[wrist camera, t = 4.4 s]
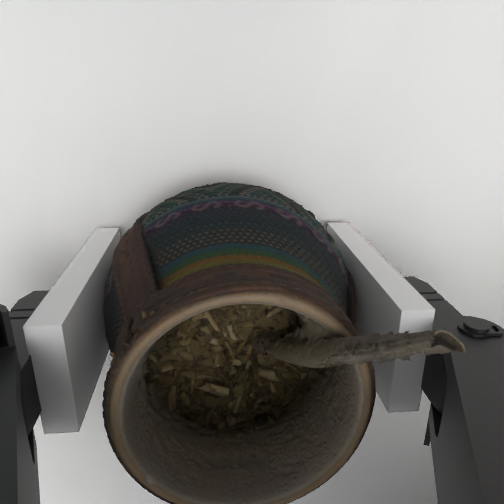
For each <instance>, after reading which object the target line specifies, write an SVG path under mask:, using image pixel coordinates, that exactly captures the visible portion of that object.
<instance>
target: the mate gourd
mask: <svg viewBox="0 0 504 504" xmlns="http://www.w3.org/2000/svg"><path fill="white" fill-rule="evenodd" d="M355 312H356V296H355V286H354V282H353V278H352V277H351V274H350V272H349V271H348V269H347V267H346V265H345V262H344V260H343V256H342V255H341V253H340V251H339V250H338V248H337V246H336V244H335V240H333V237H332V236H331V235H330V234H328V232H327V231H326V230H325V229H324V227H323V226H322V225H321V223H319V222H318V221H317V220H316V219H315V215H314V214H313V213H312V212H310V211H307V210H305V209H304V208H303V207H302V205H299V204H297V203H296V202H294V200H291V199H289V198H287V197H286V196H284V195H282V194H280V193H279V192H275V191H271V189H266V188H263V187H260V186H253V185H246V184H238V183H226V182H224V183H216V184H215V183H214V184H212V185H208V184H207V185H206V186H202V187H195V188H192V189H190V190H187V191H184V192H181V193H179V194H178V195H176V196H174V197H171V198H169V199H166V200H165V201H164V202H162V203H160V204H158V205H157V206H155V207H154V208H153V209H152V210H151V211H150V212H147V213H145V214H144V215H142V216H140V218H138V219H137V220H136V222H135V223H134V225H133V227H132V228H130V229H129V230H128V231H127V232H126V233H125V234H124V236H123V237H122V238H121V240H120V241H119V243H118V245H117V246H116V248H115V250H114V254H113V261H112V264H111V268H110V270H109V273H108V276H107V279H106V284H105V298H104V327H105V333H106V334H105V335H106V338H107V342H108V344H109V348H110V352H111V353H110V355H111V356H112V357H113V360H112V362H111V368H110V369H109V370H108V372H107V376H106V380H105V382H104V388H105V390H104V392H103V397H104V400H103V403H102V406H103V412H102V413H103V418H104V426H105V429H106V432H107V437H108V439H109V443H110V444H111V447H112V449H113V452H114V453H115V454H116V456H117V458H118V460H119V461H120V463H121V464H122V465H123V467H124V468H125V470H126V471H127V472H128V473H129V474H130V476H131V477H132V478H133V479H134V480H135V481H136V482H137V483H139V484H140V485H141V486H142V487H143V488H144V489H147V491H148V492H150V493H152V494H153V495H154V496H156V497H158V498H160V499H161V500H163V501H165V502H168V503H170V504H287V503H290V502H292V501H294V500H296V499H299V498H301V497H303V496H305V495H306V494H308V493H310V492H312V491H314V490H315V489H317V488H319V487H320V486H321V485H323V484H324V483H325V482H326V481H328V480H329V479H330V478H331V477H332V476H333V475H335V474H336V473H337V472H338V471H339V470H340V469H341V468H342V467H343V466H344V464H345V463H346V462H347V461H348V460H349V459H350V457H351V456H352V455H353V453H354V452H355V450H356V449H357V447H358V445H359V444H360V442H361V440H362V438H363V436H364V434H365V431H366V429H367V427H368V424H369V422H370V419H371V416H372V412H373V407H374V402H375V397H376V387H375V386H376V384H375V373H374V372H375V370H374V367H373V364H372V361H374V360H376V361H378V362H379V363H383V362H387V361H388V362H392V361H395V359H397V358H398V359H401V360H404V361H406V360H408V361H410V356H413V355H414V354H417V353H421V354H422V355H428V356H429V354H437V353H440V354H443V353H449V352H462V353H465V347H464V345H463V343H462V342H460V341H459V340H458V339H457V338H456V337H455V336H453V335H452V334H451V333H450V332H447V331H444V330H431V331H428V330H427V331H422V332H417V333H415V332H413V333H408V332H409V331H405V333H397V334H394V333H393V332H392V331H391V332H389V333H387V334H383V335H380V334H379V333H373V334H372V335H367V336H360V335H359V333H358V332H357V330H356V326H355V323H356V316H355ZM393 334H394V335H393Z"/></svg>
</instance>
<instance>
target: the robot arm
mask: <svg viewBox="0 0 504 504" xmlns="http://www.w3.org/2000/svg"><path fill="white" fill-rule="evenodd" d="M327 232H328V234H330V235H331V236H332V237H333V240H335V244H336V246H337V248H338V250H339V251H340V253H341V255H342V256H343V260H344V262H345V265H346V267H347V269H348V271H349V272H350V274H351V277H352V278H353V282H354V286H355V296H356V312H355V316H356V323H355V326H356V330H357V332H358V333H359V335H360V336H367V335H372V334H373V333H379V334H380V335H383V334H387V333H389V332H391V331H392V332H393V333H394V334H397V333H405V331H409V332H408V333H413V332H415V333H417V332H422V331H427V330H428V331H431V330H444V331H447V332H450V333H451V334H452V335H453V336H455V337H456V338H457V339H458V340H459V341H460V342H462V343H463V345H464V347H465V353H462V352H449V353H443V354H440V353H437V354H429V356H428V355H422V354H421V353H417V354H414V355H413V356H410V361H408V360H406V361H404V360H401V359H398V358H397V359H395V361H392V362H388V361H387V362H383V363H379V362H378V361H376V360H374V361H372V364H373V367H374V370H375V372H374V373H375V384H376V386H375V387H376V391H377V393H378V395H379V397H380V398H381V400H382V402H383V404H384V406H385V408H386V410H387V411H388V413H389V412H405V411H419V406H420V400H421V394H422V390H423V391H424V393H425V394H426V396H427V397H428V398H429V400H430V401H431V406H430V412H429V418H428V423H427V429H426V435H425V440H424V445H427V446H429V443H430V439H431V446H432V455H433V464H434V472H435V481H436V489H437V498H438V504H504V329H503V328H501V327H500V326H498V325H497V324H495V323H493V322H490V321H487V320H485V319H481V318H476V317H471V316H463V315H461V314H460V313H459V312H458V311H457V310H456V309H455V308H454V307H453V306H452V305H451V304H450V303H448V302H447V301H446V300H444V298H443V297H442V296H441V295H440V294H439V293H438V294H437V291H435V290H434V289H433V288H432V287H431V286H430V285H429V284H428V283H426V282H424V281H422V280H420V279H417V278H415V277H403V276H402V275H401V274H400V273H399V272H398V271H397V270H396V269H395V268H394V267H393V266H392V265H391V264H390V263H389V262H388V261H387V260H386V259H385V258H384V257H383V256H382V255H381V254H380V253H379V252H378V251H377V250H376V249H375V248H374V247H373V246H372V245H371V244H370V243H369V242H368V241H367V240H366V239H365V238H364V237H363V236H362V235H361V234H360V233H359V232H358V231H357V230H356V229H355V228H354V227H353V226H352V225H351V224H350V223H349V222H331V223H327ZM120 240H121V239H120V229H119V228H96V229H95V231H94V232H93V233H92V235H91V236H90V237H89V239H88V240H87V241H86V243H85V244H84V245H83V247H82V248H81V249H80V251H79V252H78V253H77V255H76V256H75V257H74V259H73V260H72V261H71V263H70V264H69V265H68V267H67V268H66V269H65V271H64V272H63V273H62V275H61V276H60V278H59V279H58V280H57V282H56V283H55V284H54V286H53V287H52V288H51V290H50V291H33V292H32V293H30V294H28V295H27V296H25V297H23V298H21V299H20V300H19V301H18V302H17V303H16V304H15V305H14V306H13V308H12V309H11V311H10V312H9V311H8V309H7V308H6V306H4V305H1V304H0V504H40V494H39V478H38V463H37V448H36V440H35V436H34V431H33V427H34V425H35V423H36V421H37V419H38V417H39V415H41V420H42V425H43V430H44V434H48V433H64V432H79V430H80V428H81V425H82V422H83V419H84V417H85V414H86V411H87V408H88V406H89V403H90V400H91V397H92V395H93V392H94V389H95V386H96V384H97V381H98V378H99V375H100V373H101V370H102V367H103V364H104V362H105V359H106V356H107V353H108V351H109V344H108V342H107V338H106V335H105V334H106V333H105V327H104V298H105V284H106V279H107V276H108V273H109V270H110V268H111V264H112V261H113V254H114V250H115V248H116V246H117V245H118V243H119V241H120ZM394 334H393V335H394Z"/></svg>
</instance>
